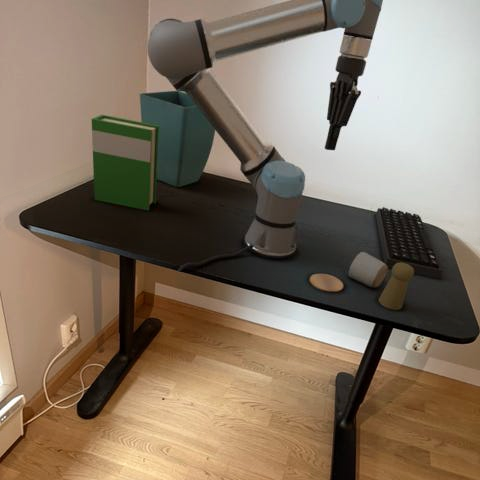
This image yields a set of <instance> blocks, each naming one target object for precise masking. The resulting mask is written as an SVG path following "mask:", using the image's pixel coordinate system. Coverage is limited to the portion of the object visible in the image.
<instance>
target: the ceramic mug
mask: <svg viewBox="0 0 480 480" xmlns="http://www.w3.org/2000/svg"><path fill="white" fill-rule="evenodd" d="M388 270H389V268H388V267H387V265H386V264H385V263H384V261H382V260H380V259H378V258H377V257H375V256H373V255H370V254H369V253H367V252H365V251H361V252H360V253H358V254H357V255H356V256H355V258H354V259H353V261H352V262H351V264H350V267H349V271H348V277H349V278H350V279H353V280H355V281H357V282H359V283H361V284H364V285H365V286H367V287H369V288H372V289H375V288H378V287H380V286H381V284H382V283H383V281H384V280H385V278H386V276H387V274H388Z"/></svg>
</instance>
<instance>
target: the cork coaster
mask: <svg viewBox="0 0 480 480" xmlns="http://www.w3.org/2000/svg"><path fill="white" fill-rule="evenodd" d="M309 283H310V284H311V285H312V286H313V287H314V288H316V289H317V290H320V291H323V292H326V293H338V292H339V293H340V291H342V290H343V289H344V283H343V281H342V280H340V279H339V278H337V277H336V276H333V275H331V274H327V273H314V274H312V275H310V277H309Z"/></svg>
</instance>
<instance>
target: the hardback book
mask: <svg viewBox="0 0 480 480" xmlns="http://www.w3.org/2000/svg"><path fill="white" fill-rule="evenodd" d="M158 138H159V126H158V125H153V124H148V123H143V122H141V121H139V120H138V121H137V120H132V119H127V118H121V117H117V116H111V115H106V114H100V115H97V116H96V117H95V116H94V117H93V118H91V140H92V141H91V142H92V163H93V164H92V167H93V168H92V170H93V193H94V195H93V196H94V198H93V199H94V201H99V202H104V203H109V204H114V205H118V206H123V207H129V208H133V209H138V210H144V211H150V209H151V208H150V207H151V206H150V205H151V204H153V205H155V204H156V203H157V184H158V183H157V181H158V179H157V161H158Z"/></svg>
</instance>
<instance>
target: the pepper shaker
mask: <svg viewBox="0 0 480 480" xmlns="http://www.w3.org/2000/svg"><path fill="white" fill-rule="evenodd" d="M414 274H415V273H414V269H413V267H412V266H410V265H408V264H406V263H396V264H395V265H394V266H393V268H391V276H390V278H389V280H388V281H387V283H386V285H385V287H384V289H383V291H382V292H381V294H380V296H379V298H378V303H379V304H380V305H381V306H383V307H384V308H387V309H389V310H394V311H397V310H401V309H402V308H403V306H404V305H403V304H404V301H405V296H406V292H407V288H408V285H409V281H410V280H412V278H413V277H414Z"/></svg>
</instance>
